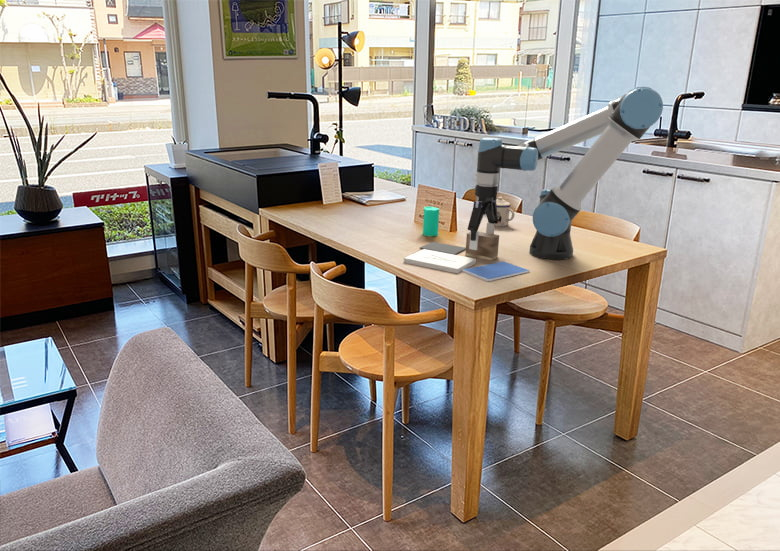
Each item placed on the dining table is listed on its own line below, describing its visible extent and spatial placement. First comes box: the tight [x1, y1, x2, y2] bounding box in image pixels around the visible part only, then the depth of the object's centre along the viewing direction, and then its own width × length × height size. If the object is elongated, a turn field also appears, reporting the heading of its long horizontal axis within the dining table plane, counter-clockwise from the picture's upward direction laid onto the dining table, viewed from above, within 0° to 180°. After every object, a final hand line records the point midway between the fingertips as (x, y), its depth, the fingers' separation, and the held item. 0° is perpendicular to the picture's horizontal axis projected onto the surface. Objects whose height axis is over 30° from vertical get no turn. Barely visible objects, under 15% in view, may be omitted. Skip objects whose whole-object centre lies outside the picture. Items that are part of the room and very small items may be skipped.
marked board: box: [403, 249, 477, 274], centre depth 212 cm, size 20×14×2 cm
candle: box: [422, 205, 440, 237], centre depth 247 cm, size 6×6×12 cm
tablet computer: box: [461, 261, 531, 282], centre depth 205 cm, size 19×13×1 cm, turn 126°
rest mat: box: [419, 241, 466, 255], centre depth 229 cm, size 14×10×1 cm
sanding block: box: [464, 231, 500, 261], centre depth 220 cm, size 10×5×8 cm, turn 58°
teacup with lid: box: [487, 196, 515, 227], centre depth 266 cm, size 12×9×12 cm
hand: (481, 245), depth 220 cm, fingers open, 13 cm apart
